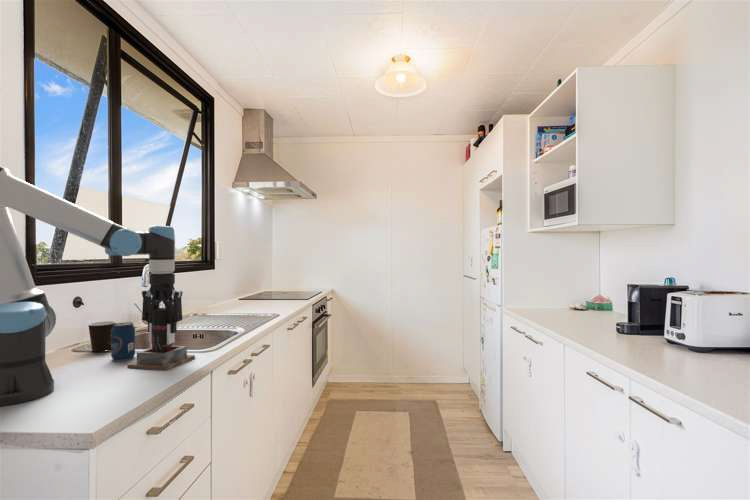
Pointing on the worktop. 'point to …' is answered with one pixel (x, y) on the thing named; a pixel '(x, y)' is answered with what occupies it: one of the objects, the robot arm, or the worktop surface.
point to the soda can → (122, 341)
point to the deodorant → (160, 331)
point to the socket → (161, 359)
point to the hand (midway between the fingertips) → (162, 342)
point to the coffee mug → (101, 335)
